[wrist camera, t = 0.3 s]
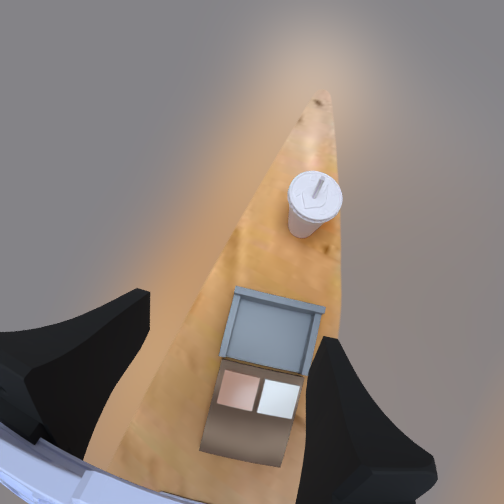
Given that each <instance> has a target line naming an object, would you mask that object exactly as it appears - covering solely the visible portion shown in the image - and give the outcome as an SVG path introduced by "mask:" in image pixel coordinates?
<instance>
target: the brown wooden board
mask: <svg viewBox="0 0 504 504" xmlns="http://www.w3.org/2000/svg"><path fill="white" fill-rule="evenodd" d="M225 369H228V370H232V371H236V372H240V373H245V374H249V375H253V376H258V377H260V381H259V385H258V389H257V393H256V397H255V401H254V405H253V409H252V411H247V410H243V409H239V408H234V407H230V406H226V405H222V404H218V403H217V400H218V396H219V392H220V388H221V384H222V380H223V376H224V372H225ZM264 378H267V379H271V380H276V381H281V382H286V383H291V384H297V385H299V386H300V388H299V392H298V396H297V400H296V404H295V408H294V412H293V416H292V419H288V418H282V417H277V416H272V415H267V414H262V413H257V411H256V408H257V404H258V400H259V396H260V392H261V388H262V384H263V380H264ZM303 381H304V377H301V376H298V375H293V374H288V373H283V372H278V371H273V370H269V369H264V368H260V367H255V366H251V365H247V364H242V363H238V362H234V361H230V360H226V359H222V361H221V365H220V369H219V373H218V377H217V381H216V385H215V389H214V393H213V397H212V401H211V405H210V409H209V413H208V417H207V421H206V425H205V428H204V432H203V436H202V440H201V444H200V448H199V451H202V452H206V453H210V454H214V455H218V456H222V457H227V458H231V459H236V460H241V461H246V462H251V463H256V464H262V465H268V466H274V467H280V466H281V463H282V460H283V456H284V453H285V449H286V446H287V442H288V439H289V435H290V432H291V428H292V424H293V421H294V417H295V413H296V409H297V405H298V401H299V398H300V394H301V390H302V385H303Z"/></svg>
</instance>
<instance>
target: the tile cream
mask: <svg viewBox="0 0 504 504" xmlns="http://www.w3.org/2000/svg"><path fill="white" fill-rule="evenodd" d="M299 388H300V386H299V385H297V384H291V383H286V382H281V381H276V380H271V379H267V378H264V380H263V384H262V388H261V392H260V396H259V400H258V404H257V408H256V411H257V413H262V414H267V415H272V416H277V417H282V418H288V419H292V416H293V412H294V408H295V404H296V400H297V396H298V392H299Z"/></svg>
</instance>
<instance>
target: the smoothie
mask: <svg viewBox="0 0 504 504" xmlns="http://www.w3.org/2000/svg"><path fill="white" fill-rule="evenodd" d="M288 202H289V219H288V228H289V230H290V232H291V233H292V234H293V235H294V236H296V237H298V238H306V237H308V236H310V235H311V234H312V233H313V232H314V231H315V230H317V229H318V228H319V227H320V226H321V225H322V224H323V223H324V222H327V221H329V220H331V219H333V218H334V217H335V216H336V215H337V213H338V211H339V210H340V208H341V205H342V192H341V189H340V187H339V185H338V184H337V183H336V181H335V180H334V179H333V178H331V177H330V176H328V175H327V174H325V173H322V172H318V171H306V172H303V173H301V174H299V175H297V176H296V177H295V178H294V179H293V181H292V182H291V184H290V186H289V189H288Z"/></svg>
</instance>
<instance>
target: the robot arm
mask: <svg viewBox="0 0 504 504" xmlns="http://www.w3.org/2000/svg"><path fill="white" fill-rule="evenodd" d="M149 330H150V292H148V291H145V290H142V289H138V288H137V289H134V290H132V291H130V292H128V293H126V294H124V295H122V296H120V297H119V298H117V299H115V300H113V301H111V302H109V303H107V304H105V305H103V306H101V307H99V308H96V309H94V310H92V311H89V312H87V313H85V314H83V315H80V316H78V317H75V318H73V319H70V320H67V321H64V322H61V323H57V324H53V325H49V326H45V327H41V328H36V329H31V330H23V331H15V332H0V483H2V484H3V485H4V486H5V487H7V488H8V489H9V490H11V491H12V492H13V493H15V494H16V495H17V496H19V497H20V498H21V499H23V500H24V501H25V502H27V503H28V504H206V503H202V502H198V501H194V500H190V499H187V498H183V497H179V496H176V495H172V494H169V493H166V492H163V491H160V492H156V491H153V490H150V489H147V488H145V487H142V486H139V485H137V484H134V483H132V482H129V481H127V480H124V479H122V478H119V477H117V476H115V475H112V474H110V473H108V472H106V471H103V470H101V469H99V468H97V467H95V466H93V465H91V464H89V463H87V462H84V461H83V458H84V455H85V453H86V450H87V447H88V444H89V441H90V439H91V436H92V434H93V431H94V428H95V426H96V424H97V422H98V419H99V417H100V415H101V413H102V411H103V408H104V406H105V404H106V402H107V400H108V398H109V396H110V394H111V392H112V391H113V389H114V387H115V386H116V384H117V383H118V381H119V380H120V378H121V377H122V375H123V374H124V372H125V371H126V369H127V368H128V366H129V365H130V363H131V362H132V360H133V359H134V358H135V356H136V354H137V353H138V351H139V350H140V349H141V347H142V344H143V343H144V341H145V338H146V337H147V334H148V332H149ZM437 480H438V477H437V471H436V465H435V462H434V458H433V456H432V455H431V454H429V453H428V452H427V451H425V450H424V449H422V448H421V447H420V446H418V445H417V444H415V443H414V442H413V441H412V440H411V439H410V438H408V437H407V436H406V435H405V434H404V433H403V432H401V431H400V430H399V429H398V428H397V427H396V426H395V425H394V424H393V423H392V421H390V419H389V418H388V417H387V416H386V415H385V414H384V413H383V412H382V410H381V409H380V408H379V407H378V405H377V404H376V403H375V402H374V400H373V399H372V398H371V396H370V395H369V393H368V392H367V390H366V389H365V387H364V386H363V384H362V383H361V381H360V379H359V378H358V376H357V374H356V372H355V371H354V369H353V367H352V365H351V363H350V361H349V359H348V358H347V356H346V354H345V352H344V350H343V348H342V346H341V344H340V342H339V340H338V339H335V338H330V337H325V336H323V339H322V341H321V343H320V346H319V348H318V351H317V353H316V355H315V358H314V360H313V362H312V365H311V367H310V369H309V372H308V380H307V388H306V443H305V452H304V460H303V466H302V472H301V478H300V484H299V489H298V494H297V499H296V504H416V502H415V500H416V499H417V498H419V497H420V496H421V495H423V494H424V493H426V492H427V491H428V490H429V489H431V488H432V487H433V486H434V484H435V483H436V481H437Z"/></svg>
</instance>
